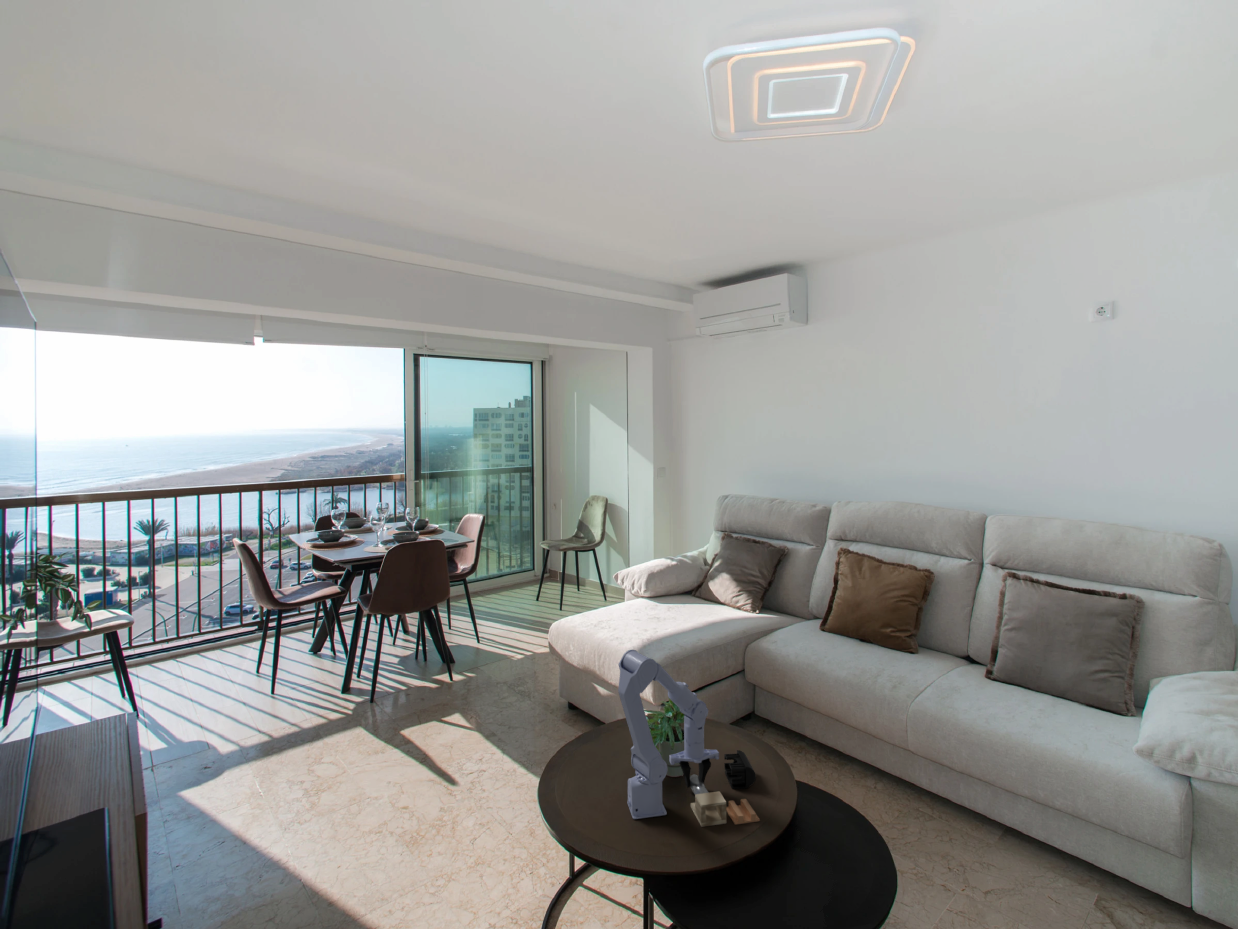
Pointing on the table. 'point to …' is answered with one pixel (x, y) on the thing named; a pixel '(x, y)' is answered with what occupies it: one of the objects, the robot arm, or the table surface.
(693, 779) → the axle
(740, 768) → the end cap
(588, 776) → the table surface
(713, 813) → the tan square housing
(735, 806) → the cradle
